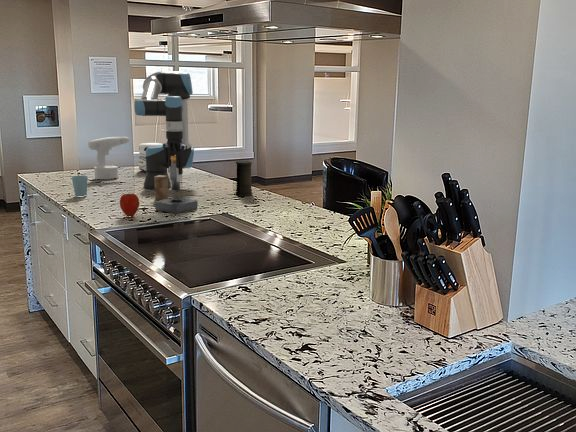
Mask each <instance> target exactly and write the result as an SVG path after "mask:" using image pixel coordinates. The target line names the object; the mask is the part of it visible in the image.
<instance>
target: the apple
mask: <svg viewBox="0 0 576 432" xmlns="http://www.w3.org/2000/svg"><path fill="white" fill-rule="evenodd" d="M119 207H120V209H121V211H122V212H123V214H124V215H125V216H126V217H127V216H133V217H134V216H135V214H136V213H137V211H138V210H139V207H140V199H139V196H137V194H135V193H125V194H122V195H121V196H120V198H119Z"/></svg>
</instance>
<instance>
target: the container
mask: <svg viewBox="0 0 576 432" xmlns="http://www.w3.org/2000/svg"><path fill="white" fill-rule="evenodd" d="M235 164H236V189H235V196H236V197H237V196H238V197H251V196H252V195H253V190H252V186H253V185H252V164H253V162H252V161H250V160H238V161H236V162H235Z"/></svg>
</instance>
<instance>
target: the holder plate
mask: <svg viewBox="0 0 576 432" xmlns="http://www.w3.org/2000/svg"><path fill="white" fill-rule="evenodd" d="M198 204H199V203H198V200H196V199H190V198H184V197H178V196H174V197H169V199H165V200H155V202H154V210H155V209H156V210H155V211H158V210H161V211H160V212H163V211H165V212H164V213H168V212H169V213H168V214H174V215H179V213H180V214H184V213H187V212H191V211H194V210H198V209H199V208H198Z"/></svg>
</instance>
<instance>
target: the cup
mask: <svg viewBox="0 0 576 432" xmlns="http://www.w3.org/2000/svg"><path fill="white" fill-rule="evenodd" d="M88 178H89V176H87V175H74V176H72V177H71V181H72V184H73V185H72V186H73V191H74V196H75V197H76V196H84V195H88Z"/></svg>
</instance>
